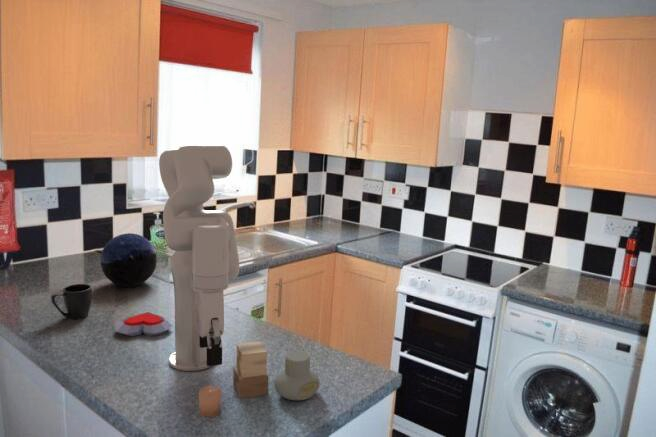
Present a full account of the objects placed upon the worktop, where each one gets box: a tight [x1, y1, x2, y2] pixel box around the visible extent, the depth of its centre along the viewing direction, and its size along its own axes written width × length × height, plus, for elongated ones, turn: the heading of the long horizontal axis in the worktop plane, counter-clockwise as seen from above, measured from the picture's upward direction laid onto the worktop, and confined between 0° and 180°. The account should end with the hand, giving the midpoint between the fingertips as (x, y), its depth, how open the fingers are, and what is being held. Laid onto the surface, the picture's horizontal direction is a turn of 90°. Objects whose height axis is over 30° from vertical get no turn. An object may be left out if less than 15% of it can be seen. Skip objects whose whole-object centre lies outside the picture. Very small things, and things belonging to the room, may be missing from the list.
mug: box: [50, 283, 93, 320], centre depth 168 cm, size 8×12×10 cm
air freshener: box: [273, 351, 320, 401], centre depth 128 cm, size 11×8×10 cm
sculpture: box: [114, 311, 173, 337], centre depth 163 cm, size 17×4×15 cm
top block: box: [235, 340, 268, 378], centre depth 129 cm, size 6×6×6 cm
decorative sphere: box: [99, 232, 158, 288], centre depth 200 cm, size 20×20×20 cm
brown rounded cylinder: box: [198, 385, 222, 418], centre depth 119 cm, size 5×5×5 cm
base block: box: [232, 365, 269, 399], centre depth 130 cm, size 7×7×5 cm
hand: (210, 355), depth 117 cm, fingers open, 9 cm apart
